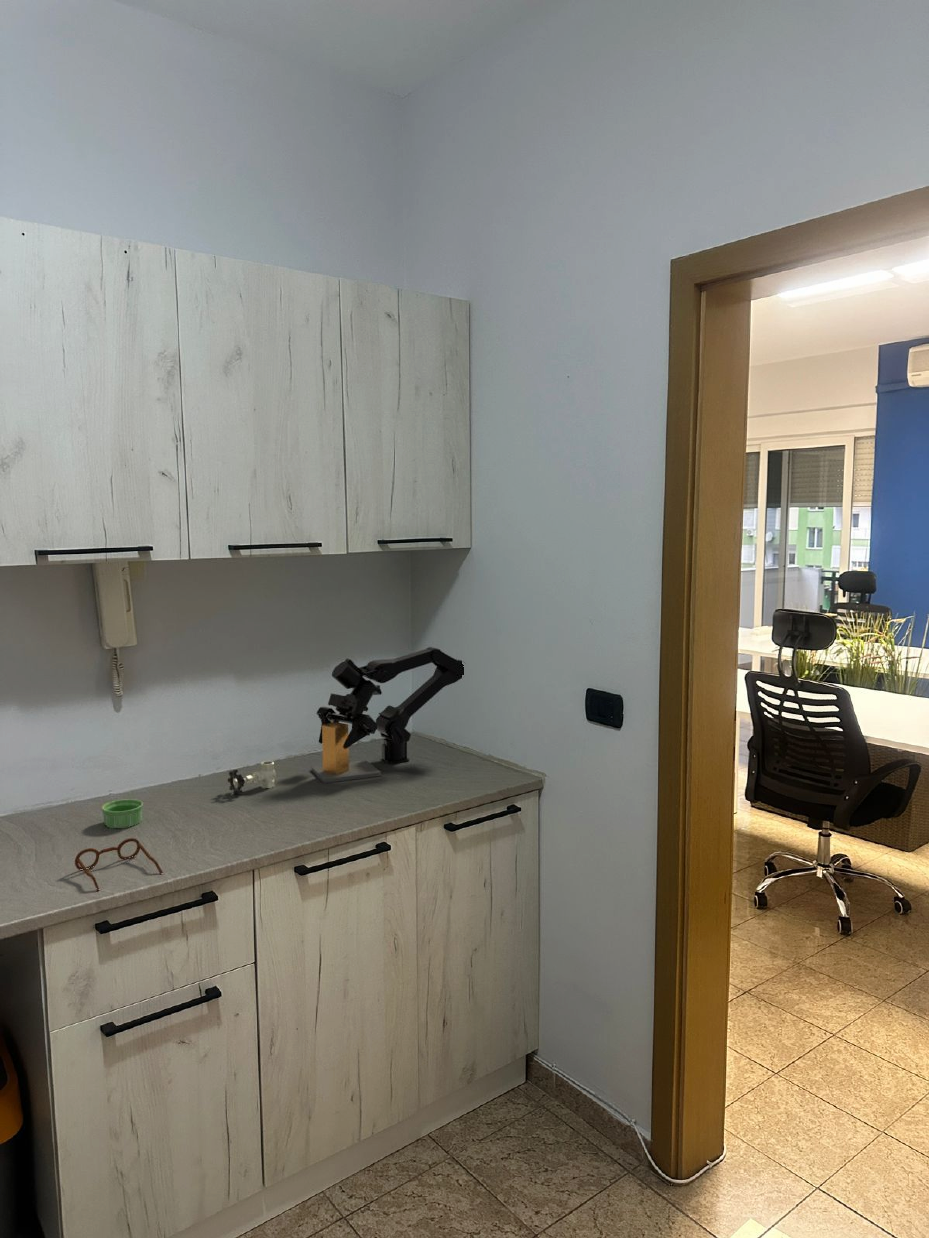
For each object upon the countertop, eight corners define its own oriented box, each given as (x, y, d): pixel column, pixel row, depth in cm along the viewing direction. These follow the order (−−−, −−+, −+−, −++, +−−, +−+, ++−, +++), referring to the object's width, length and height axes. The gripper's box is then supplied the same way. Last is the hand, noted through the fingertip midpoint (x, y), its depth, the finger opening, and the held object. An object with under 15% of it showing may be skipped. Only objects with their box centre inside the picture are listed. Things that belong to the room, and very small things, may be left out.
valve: (268, 782, 239) (227, 792, 230) (267, 758, 238) (226, 767, 230) (281, 787, 234) (240, 798, 226) (281, 763, 233) (240, 772, 225)
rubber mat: (365, 763, 256) (365, 760, 256) (381, 775, 244) (381, 772, 244) (311, 770, 249) (311, 766, 249) (324, 783, 238) (324, 779, 238)
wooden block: (336, 767, 249) (335, 721, 247) (348, 770, 246) (348, 724, 244) (323, 771, 245) (322, 725, 243) (335, 774, 242) (335, 728, 240)
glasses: (139, 857, 188) (138, 834, 188) (164, 876, 179) (163, 852, 178) (74, 873, 180) (73, 850, 179) (97, 894, 170) (96, 869, 169)
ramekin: (98, 831, 202) (98, 812, 202) (106, 817, 211) (105, 800, 210) (140, 828, 204) (139, 810, 203) (146, 815, 213) (145, 797, 212)
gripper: (320, 678, 251) (292, 724, 243) (369, 686, 240) (341, 734, 232) (340, 700, 258) (313, 746, 251) (389, 709, 247) (362, 757, 240)
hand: (331, 745), depth 243 cm, fingers open, 9 cm apart
